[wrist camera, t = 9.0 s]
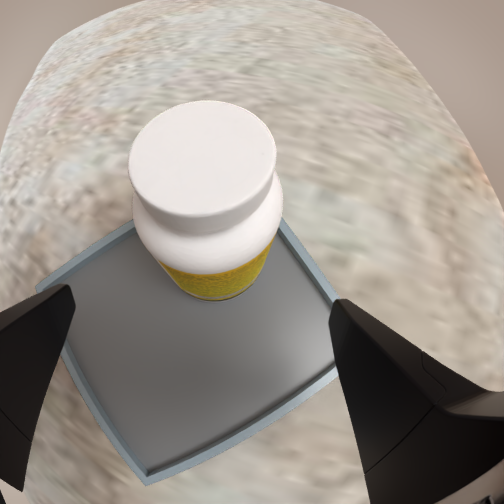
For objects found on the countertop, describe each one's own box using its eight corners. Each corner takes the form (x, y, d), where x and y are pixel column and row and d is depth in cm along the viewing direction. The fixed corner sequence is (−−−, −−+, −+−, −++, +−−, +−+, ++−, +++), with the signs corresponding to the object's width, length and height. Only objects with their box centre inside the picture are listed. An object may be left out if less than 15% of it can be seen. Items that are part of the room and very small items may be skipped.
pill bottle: (281, 253, 19) (339, 148, 8) (218, 324, 17) (202, 294, 7) (213, 198, 20) (205, 68, 9) (150, 259, 18) (73, 162, 7)
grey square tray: (159, 463, 16) (145, 486, 12) (63, 297, 20) (34, 286, 16) (346, 346, 21) (372, 346, 16) (236, 191, 24) (238, 161, 20)
